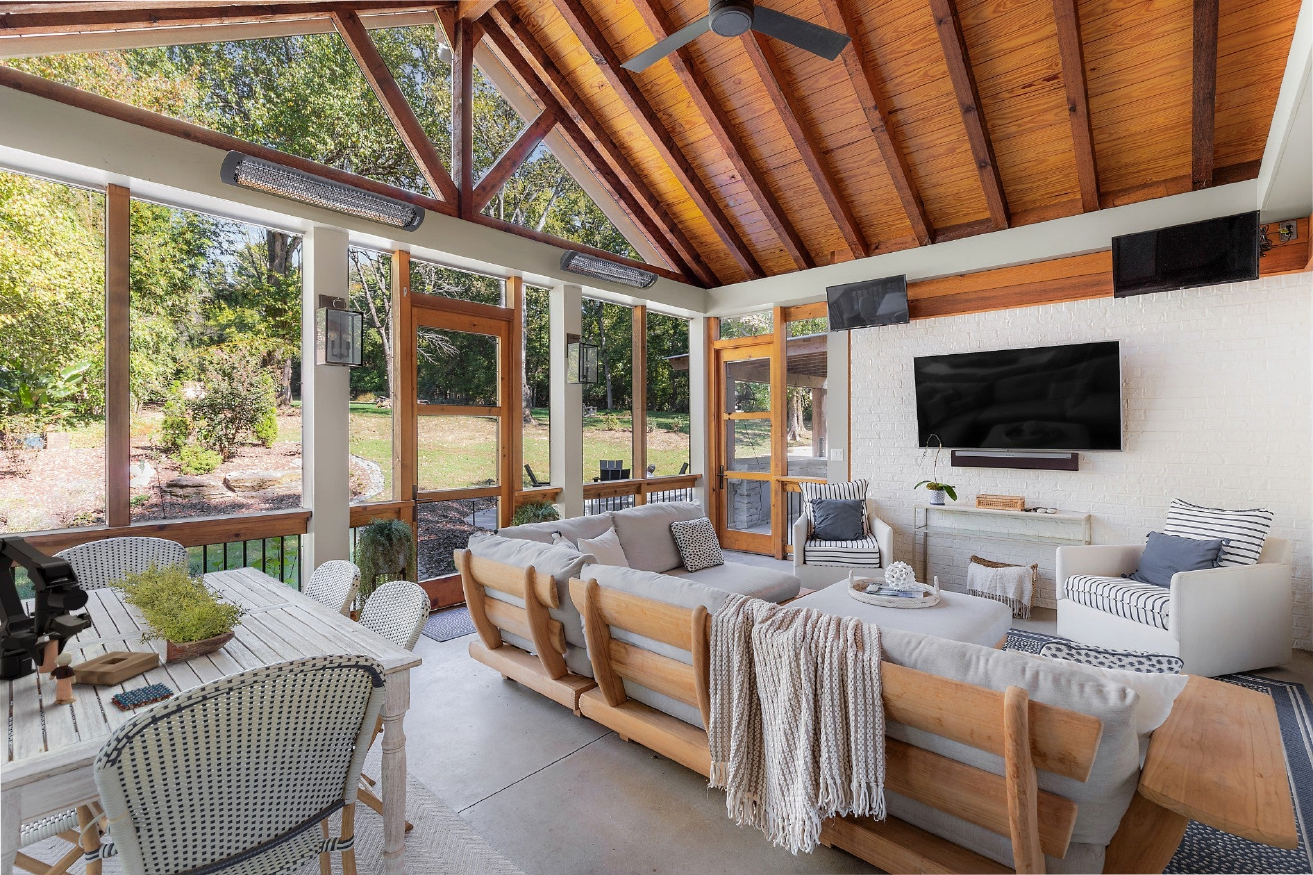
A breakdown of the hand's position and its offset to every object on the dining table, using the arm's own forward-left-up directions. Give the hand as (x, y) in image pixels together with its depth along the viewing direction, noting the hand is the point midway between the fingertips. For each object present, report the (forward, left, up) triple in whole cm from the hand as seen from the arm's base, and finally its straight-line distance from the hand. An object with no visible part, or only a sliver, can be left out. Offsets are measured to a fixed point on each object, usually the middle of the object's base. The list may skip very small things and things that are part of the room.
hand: (48, 663), depth 162 cm
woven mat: (+34, -7, -6) cm, 35 cm away
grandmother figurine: (+16, -10, -5) cm, 20 cm away
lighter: (+22, +19, -5) cm, 29 cm away
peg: (0, 0, -2) cm, 2 cm away
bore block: (+13, +6, -5) cm, 15 cm away
